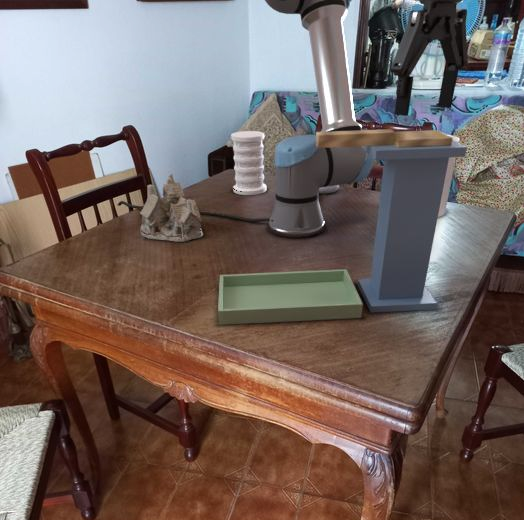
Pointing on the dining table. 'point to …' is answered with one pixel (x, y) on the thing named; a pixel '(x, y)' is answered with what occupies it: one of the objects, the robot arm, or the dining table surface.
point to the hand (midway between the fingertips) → (423, 111)
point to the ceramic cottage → (170, 214)
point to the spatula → (382, 138)
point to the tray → (287, 297)
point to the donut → (328, 189)
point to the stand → (406, 225)
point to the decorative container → (248, 162)
